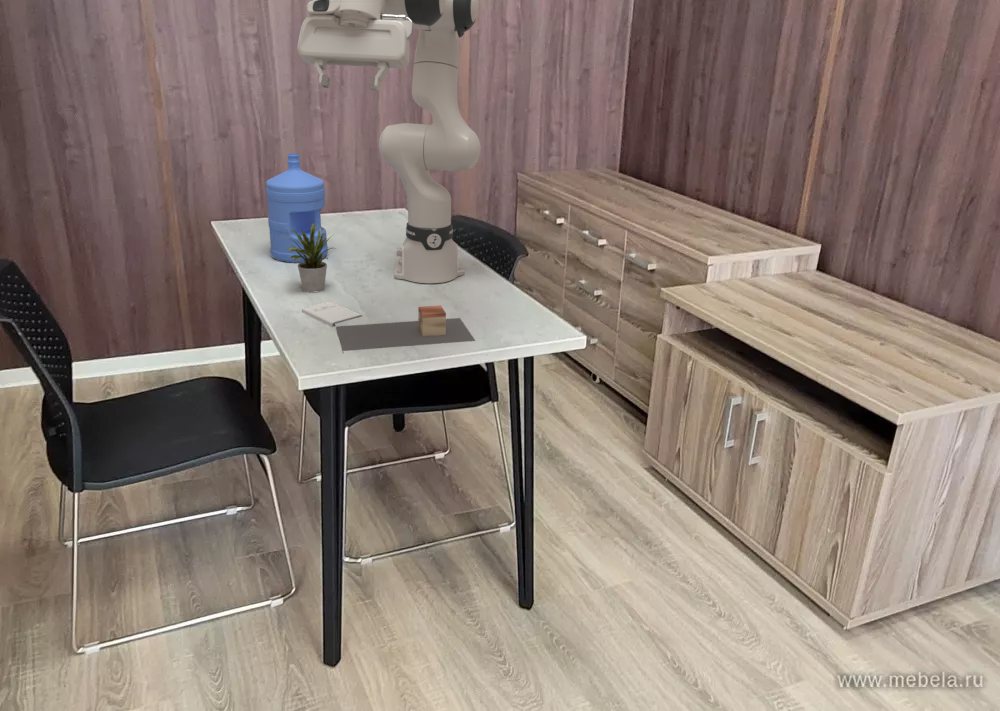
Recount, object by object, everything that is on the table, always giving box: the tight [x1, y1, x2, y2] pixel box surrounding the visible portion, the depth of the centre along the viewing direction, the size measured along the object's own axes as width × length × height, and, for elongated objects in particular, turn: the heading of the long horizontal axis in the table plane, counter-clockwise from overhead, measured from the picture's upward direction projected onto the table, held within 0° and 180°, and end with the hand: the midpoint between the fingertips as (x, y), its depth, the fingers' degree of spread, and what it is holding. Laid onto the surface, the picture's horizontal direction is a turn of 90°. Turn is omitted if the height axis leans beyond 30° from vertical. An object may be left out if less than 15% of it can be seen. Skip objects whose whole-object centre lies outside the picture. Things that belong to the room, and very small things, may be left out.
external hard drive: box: [301, 301, 363, 327], centre depth 188 cm, size 2×8×12 cm
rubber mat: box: [335, 317, 476, 354], centre depth 177 cm, size 14×28×1 cm, turn 106°
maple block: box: [417, 305, 447, 336], centre depth 178 cm, size 5×5×5 cm
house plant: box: [284, 223, 337, 293], centre depth 202 cm, size 14×14×16 cm
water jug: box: [265, 153, 329, 263], centre depth 225 cm, size 16×16×28 cm
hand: (349, 87), depth 146 cm, fingers open, 8 cm apart
